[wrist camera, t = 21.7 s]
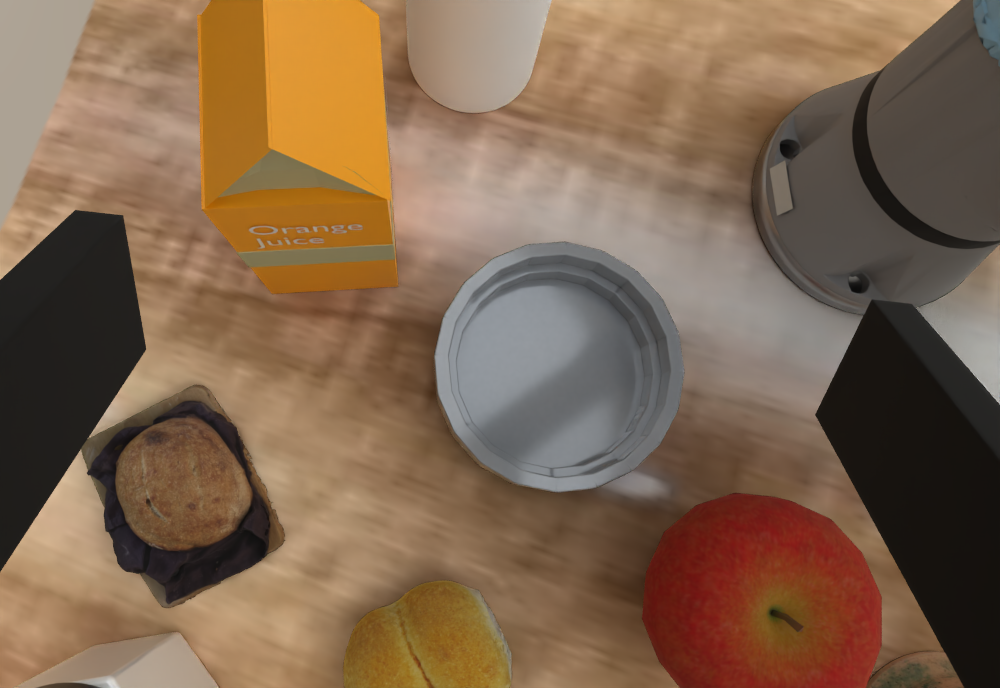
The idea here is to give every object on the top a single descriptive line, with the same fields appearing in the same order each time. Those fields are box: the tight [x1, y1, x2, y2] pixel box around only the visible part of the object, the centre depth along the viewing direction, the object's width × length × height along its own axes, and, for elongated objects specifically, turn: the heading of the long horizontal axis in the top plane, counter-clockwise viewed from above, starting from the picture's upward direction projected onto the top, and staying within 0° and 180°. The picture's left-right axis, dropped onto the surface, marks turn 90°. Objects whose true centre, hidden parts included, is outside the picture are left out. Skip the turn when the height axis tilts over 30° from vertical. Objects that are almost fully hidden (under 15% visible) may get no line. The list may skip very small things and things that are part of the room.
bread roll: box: [343, 580, 512, 688], centre depth 40 cm, size 8×9×4 cm
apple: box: [642, 493, 882, 688], centre depth 38 cm, size 11×11×12 cm
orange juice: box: [197, 0, 398, 294], centre depth 36 cm, size 8×9×20 cm
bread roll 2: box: [81, 385, 285, 608], centre depth 40 cm, size 11×8×4 cm
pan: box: [433, 242, 684, 493], centre depth 43 cm, size 14×14×4 cm
